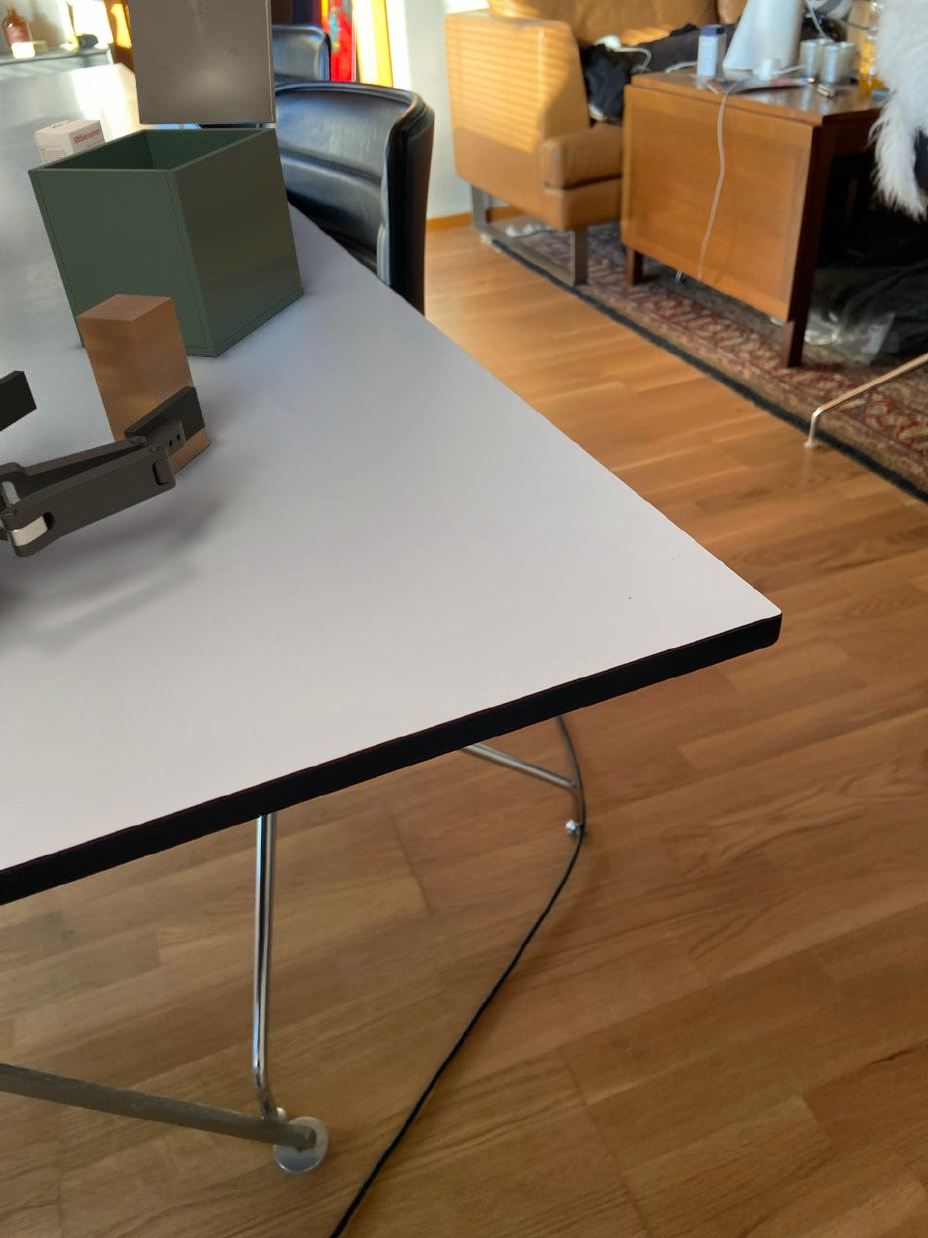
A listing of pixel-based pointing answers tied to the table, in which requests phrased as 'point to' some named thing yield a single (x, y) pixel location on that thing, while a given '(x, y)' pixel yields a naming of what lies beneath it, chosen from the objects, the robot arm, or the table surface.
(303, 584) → the table surface
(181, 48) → the bin lid
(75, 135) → the ink box
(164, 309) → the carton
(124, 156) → the trash can
